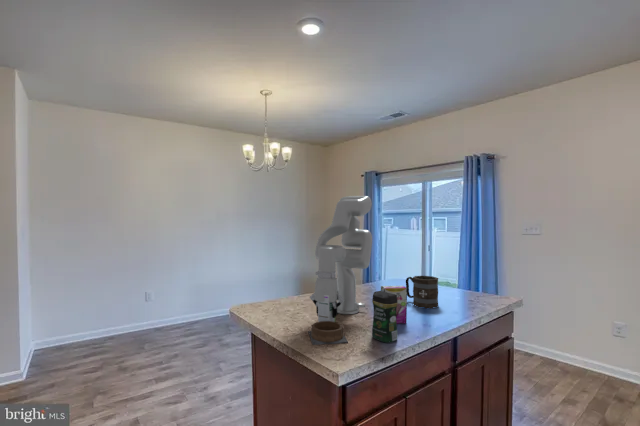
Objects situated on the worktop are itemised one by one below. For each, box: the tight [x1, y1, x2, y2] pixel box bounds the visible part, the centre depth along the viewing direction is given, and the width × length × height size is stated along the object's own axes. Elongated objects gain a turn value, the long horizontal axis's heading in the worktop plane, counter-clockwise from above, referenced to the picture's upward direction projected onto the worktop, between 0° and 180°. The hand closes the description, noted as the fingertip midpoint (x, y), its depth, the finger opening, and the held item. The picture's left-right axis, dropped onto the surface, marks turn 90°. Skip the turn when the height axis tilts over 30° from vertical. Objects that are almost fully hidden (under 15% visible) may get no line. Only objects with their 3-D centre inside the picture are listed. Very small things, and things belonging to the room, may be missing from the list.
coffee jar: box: [371, 290, 398, 344], centre depth 131 cm, size 10×8×19 cm
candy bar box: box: [380, 285, 408, 325], centre depth 151 cm, size 11×5×16 cm, turn 100°
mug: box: [405, 275, 439, 309], centre depth 184 cm, size 20×14×15 cm
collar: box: [308, 321, 349, 346], centre depth 133 cm, size 14×14×4 cm
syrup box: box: [317, 295, 337, 322], centre depth 146 cm, size 6×6×14 cm
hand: (326, 315), depth 146 cm, fingers closed on syrup box, 6 cm apart
